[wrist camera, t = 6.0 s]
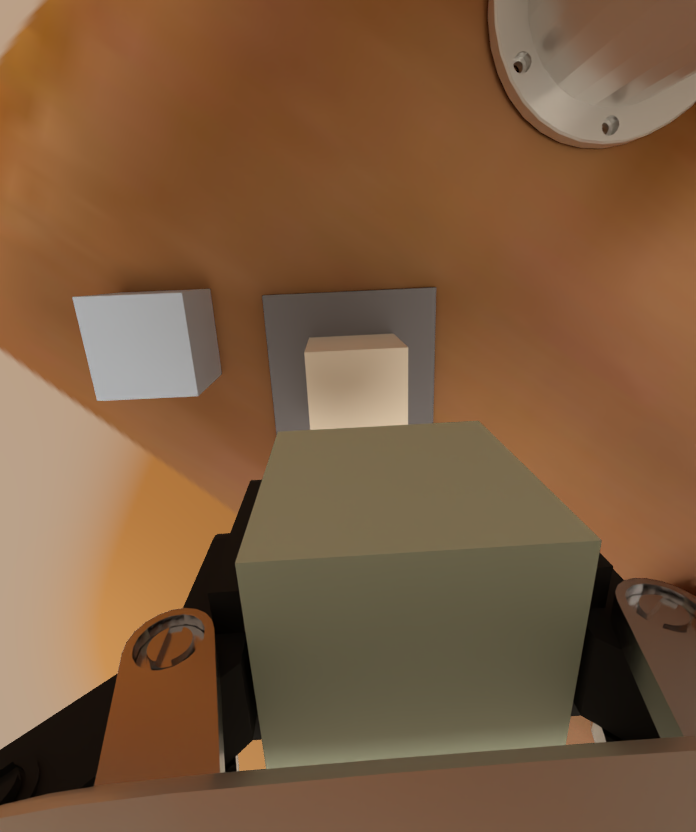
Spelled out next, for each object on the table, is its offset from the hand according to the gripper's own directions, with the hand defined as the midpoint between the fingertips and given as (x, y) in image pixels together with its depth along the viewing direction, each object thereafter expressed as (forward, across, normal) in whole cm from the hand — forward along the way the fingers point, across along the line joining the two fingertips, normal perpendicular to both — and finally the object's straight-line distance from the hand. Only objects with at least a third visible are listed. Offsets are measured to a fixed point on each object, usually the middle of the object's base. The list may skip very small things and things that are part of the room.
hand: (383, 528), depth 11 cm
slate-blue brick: (+17, +10, -3) cm, 20 cm away
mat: (+16, 0, 0) cm, 16 cm away
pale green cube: (+1, 0, 0) cm, 1 cm away
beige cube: (+16, 0, 0) cm, 16 cm away
